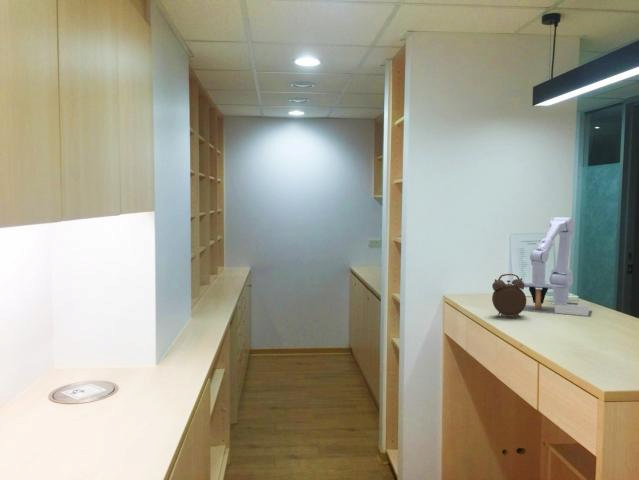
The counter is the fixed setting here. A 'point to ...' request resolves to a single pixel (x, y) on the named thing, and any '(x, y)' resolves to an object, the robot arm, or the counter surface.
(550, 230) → the robot arm
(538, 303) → the pin
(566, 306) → the hole block
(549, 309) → the rubber mat
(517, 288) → the alarm clock
